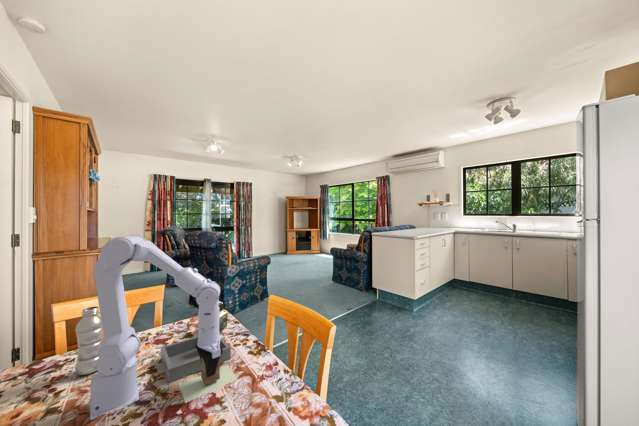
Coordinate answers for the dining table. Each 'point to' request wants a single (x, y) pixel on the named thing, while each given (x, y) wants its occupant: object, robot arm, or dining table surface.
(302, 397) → the dining table surface
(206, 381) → the walnut block
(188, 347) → the bin
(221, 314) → the medicine bottle
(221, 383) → the board
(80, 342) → the plastic bottle
